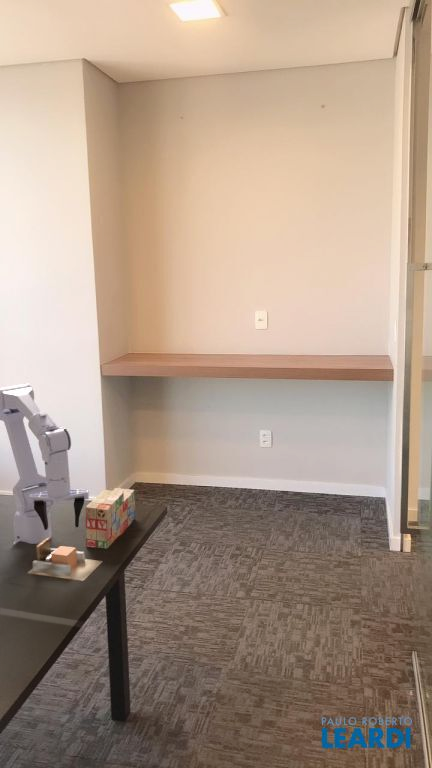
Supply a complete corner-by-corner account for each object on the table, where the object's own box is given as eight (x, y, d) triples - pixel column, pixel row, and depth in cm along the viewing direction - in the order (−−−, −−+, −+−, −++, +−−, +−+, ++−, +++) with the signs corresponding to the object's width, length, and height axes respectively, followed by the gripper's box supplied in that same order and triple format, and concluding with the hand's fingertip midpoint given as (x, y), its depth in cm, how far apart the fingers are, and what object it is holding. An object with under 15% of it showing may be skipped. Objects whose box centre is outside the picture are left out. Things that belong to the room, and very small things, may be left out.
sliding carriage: (37, 567, 158) (35, 546, 156) (48, 557, 162) (47, 537, 161) (49, 569, 157) (48, 548, 155) (60, 559, 161) (59, 539, 160)
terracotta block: (52, 570, 157) (51, 553, 156) (61, 561, 161) (60, 545, 160) (68, 572, 156) (66, 555, 155) (77, 563, 160) (76, 547, 159)
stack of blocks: (115, 516, 189) (115, 477, 187) (135, 519, 188) (135, 480, 185) (85, 549, 169) (85, 506, 166) (107, 552, 168) (107, 509, 165)
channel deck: (27, 576, 156) (26, 563, 155) (49, 557, 165) (48, 545, 165) (83, 584, 152) (82, 571, 151) (103, 564, 161) (102, 552, 160)
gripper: (25, 484, 154) (30, 536, 156) (86, 480, 156) (89, 531, 158) (29, 474, 160) (34, 524, 163) (87, 470, 162) (91, 519, 165)
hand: (61, 526), depth 161 cm, fingers open, 7 cm apart
